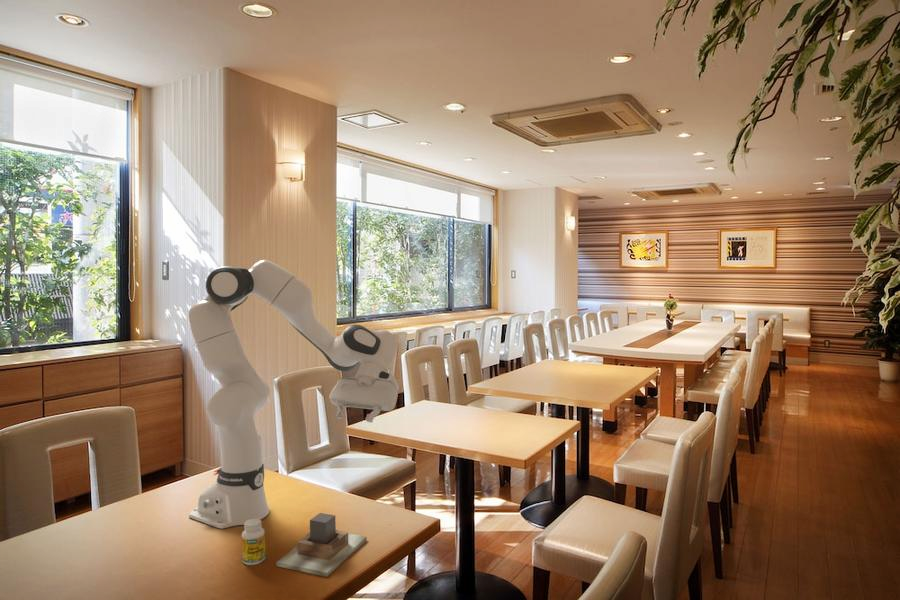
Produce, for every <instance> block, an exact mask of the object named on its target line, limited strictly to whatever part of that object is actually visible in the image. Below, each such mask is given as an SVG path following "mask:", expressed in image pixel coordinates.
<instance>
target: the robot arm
mask: <svg viewBox="0 0 900 600" xmlns="http://www.w3.org/2000/svg"><path fill="white" fill-rule="evenodd" d="M205 290H206V293H207V296H206V297H205V298H204V299H203V300H199V301H197V302H195V303H194V304H193V305H192V306H191V307H190V308H189V311H188V320H189V325H190V329H191V334H192V337H193V340H194V342H195V344H196V348H197V350H198V353H199V355H200V358H201V361H202V363H203V367H204V368H205V370H206V371H207V372H208V373H209V374H211V375H212V376H213V377H214V378H215V379H216V380H217V381H218V383H219V385H220V386H221V388H220V389H218V390H217V391H216V392H215V393H214V394H213V395H211V397H210V399H209V401H208V402H207V407H206V412H207V413H206V414H207V416H208V418H209V420H210V421H211V422H212V423H213V424H214V425H215V428H216V430H217V433H218V438H219V443H220V454H221V455H220V456H221V457H220V460H221V467H219V469H216V470H214V471H213V473H214V474H213V476H216V475H217V478H216V480H215V481H213V483H212V484H210V485H209V486H208V487H206V488H205V489H204V490H203V491H202V492H201V493H200V495H199V496H198V502H197V506H195V507H194V508H193V509H192V510H191V511H190V512H189V514H188V517H189V518H191V519H193V520H194V521H195V520H196V521H198V522H202V523H203V524H206V525H209V526H212V527H215V528H218V529H226V528H231V527H236V526H242V525H243V526H244V523H245V522H246V521H247V520H250V519H260V520H261V521H262V520H263V519H264V518H266V517H267V516H268V515H269V514H270V508H269V504H268V501H267V498H266V497H267V496H266V493H265V492H266V491H265V485H264V482H265V481H264V480H265V465H264V463H263V441H262V440H263V439H262V437H261V435H260V434H259V433H258V431H257V427H256V422H255V415H256V414H257V413H259V412H260V411H261V410H263V409H264V407H265V406H266V405H267V403H268V401H269V400H270V396H271V389H270V386H269V384H268V383H267V381H265V379H263V378H261V376H260V375H259V374H258V373H257V371H256V370H255V368H254V367H253V366H252V364H251V362H250V360H249V359H248V357H247V355H246V353H245V351H244V349H243V346H242V344H241V341H240V339H239V337H238V333H237V331H236V329H235V326H234V323H233V320H232V318H231V317H232V316H231V312H232V311H233V310H235V309H236V308H237V307H239V306H240V305H242V304H243V303H245V302H246V300H247V299H248V298H249V297H250V296H253V297H254V296H255V297H258V298H260V299H261V300H263V301H264V302H266V303H267V304H268V305H270V306H271V307H272V308H274V309H275V310H276V311H278V312H279V313H280V314H281V315H282V316H283V317H284V318H285V319H287V321H288V322H289V324H290V325H291V326H292V327H293V328H294V329H295V330H296V331H297V332H298V333H299V334H301V336H303V338H305V339H306V340H307V341H308V342H309V343H311V345H313V346H314V347H315V348H316V349H317V350H318V351H320V352H321V353H322V354H323V356H324V357H325V358H326V359H325V360H327V362H328V363H329V365H330V366H332V368H334V369H336V370H337V371H341V372H349V371H351V370H353V369H355V367H357V365H358V364H359V363H360V365H359V366H358V370H357V371H356V374H355V376H343V377H342V378H339V379H338V380H337V381H336V384H335V385H334V386H333V388H332V390H331V391H330V394H328V398H329V401H330V403H331V404H332V405H333V406H336V407H337V412H336V415H335V417H336V418H337V419H339V420H343V419H344V417H345V413H344V411H343V410H345V408H346V407H347V408H357V409H366V410H372V411H371V412H370V413H367V414H366V417H365V418H364V421H366V423H371V424H372V423H373V421H374V418H376V417H377V416H378V415H379V414H380V413H381V411H384V412H391V411H393V410H394V409H395V407H396V404H397V401H398V396H399V394H398V391H399V390H400V385H399V383H398V381H397V379H396V377H395V376H394V375H393V374H392V373H390V372H389V370H390V369H391V367H392V365H394V361H395V359H396V356H397V355H396V354H397V352H398V344H399V343H398V340H397V339H398V338H397V337H396V336H395V335H394V334H393V333H392V332H390V331H389V330H387V329H379V330H375V329H369V328H366V327H365V326H363V325H361V324H351V325H349V326H347V327H345V328H346V329H345V330H343V331H342V333H341V334H340V335H339V336H335V335H333V334H332V332H331V331H329V330H328V329H327V328H325V326H323V325H322V324H321V322H319V321H318V320H317V318H316V317H315V315H314V311H313V295H312V291H311V289H310V288H309V286H308V285H307V284H306V283H305V282H304V281H303V280H301V279H300V278H298V277H297V276H296V275H295V274H293V273H291V272H290V271H288V270H287V269H286V268H284V267H282V266H281V265H279V264H277V263H275V262H272V261H270V260H267V259H262V260H258V261H257V262H255V263H254V264H252V266H251V267H250V268H249V269H247V268H243V267H238V266H237V267H236V266H227V265H226V266H219V267H216V268H215V269H213V270H212V271H211V272H210V273H209V274H208V275H207V278H206V281H205Z"/></svg>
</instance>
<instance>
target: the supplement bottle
mask: <svg viewBox="0 0 900 600" xmlns="http://www.w3.org/2000/svg"><path fill="white" fill-rule="evenodd" d="M262 524H263V523H262V519H261V520H260V519H250V520H247V521H246V522H245V523H244V525H243V528H244V530H242V533H241V548H242V549H241V553H242V555H241V556H242V563H243V564H245V565H247V566H255V565H259V564H260V563H262V562H263V561H265V559H266V535H265V534H266V533H265V532H266V531H265V529H264V528H263V527H262Z"/></svg>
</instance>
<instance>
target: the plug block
mask: <svg viewBox="0 0 900 600" xmlns="http://www.w3.org/2000/svg"><path fill="white" fill-rule="evenodd" d="M336 530H337V529H336V515H335V514H328V513H323V512H318V514H316V515H315V516H314V517H312V518H311V519H310V520H309V533H310V541H311V542H316V543H321V544H328V543H330V542H331V541H332V540H333V539H334V538H336Z"/></svg>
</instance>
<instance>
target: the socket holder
mask: <svg viewBox="0 0 900 600" xmlns="http://www.w3.org/2000/svg"><path fill="white" fill-rule="evenodd" d="M366 542H367V536H364V535H359V534H353V533H349V532H348V531H343V530H338V529H336V538H334V539H333V540H332V541H331V542H330V543H328V544H321V543H316V542H311V541H310V532H309V533H308V534H306V535H305V536H304V537H302V538H301V539H300V540H298V541H297V542H296V543H297V545H296V546H295V547H294V548H293V549H292V550H290V551H289V552H288V553H287V554H285V555H284V556H282V557H281V558H279V560H277V561H276V562H275V563H276V567H278V568H279V567H280V568H284V569H288V570H293V571H297V572H301V573H307V574H312V575H314V576H315V575H316V576H320V577H326V578H327V577H329V576H330V575H331V574H332V573H333V572H334V571H336V569H337V568H339V567H340V566H341V563H342V562H343V561H344V560H345V561H346V560H347V559H348V558H349V557H350V556H352V555H353V554H354V553H355V552H356V551H357V550H358V549H359V548H361V546H362V545H364V544H365V543H366ZM353 552H354V553H353ZM345 561H344V562H345ZM344 562H343V563H344ZM343 563H342V564H343Z"/></svg>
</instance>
